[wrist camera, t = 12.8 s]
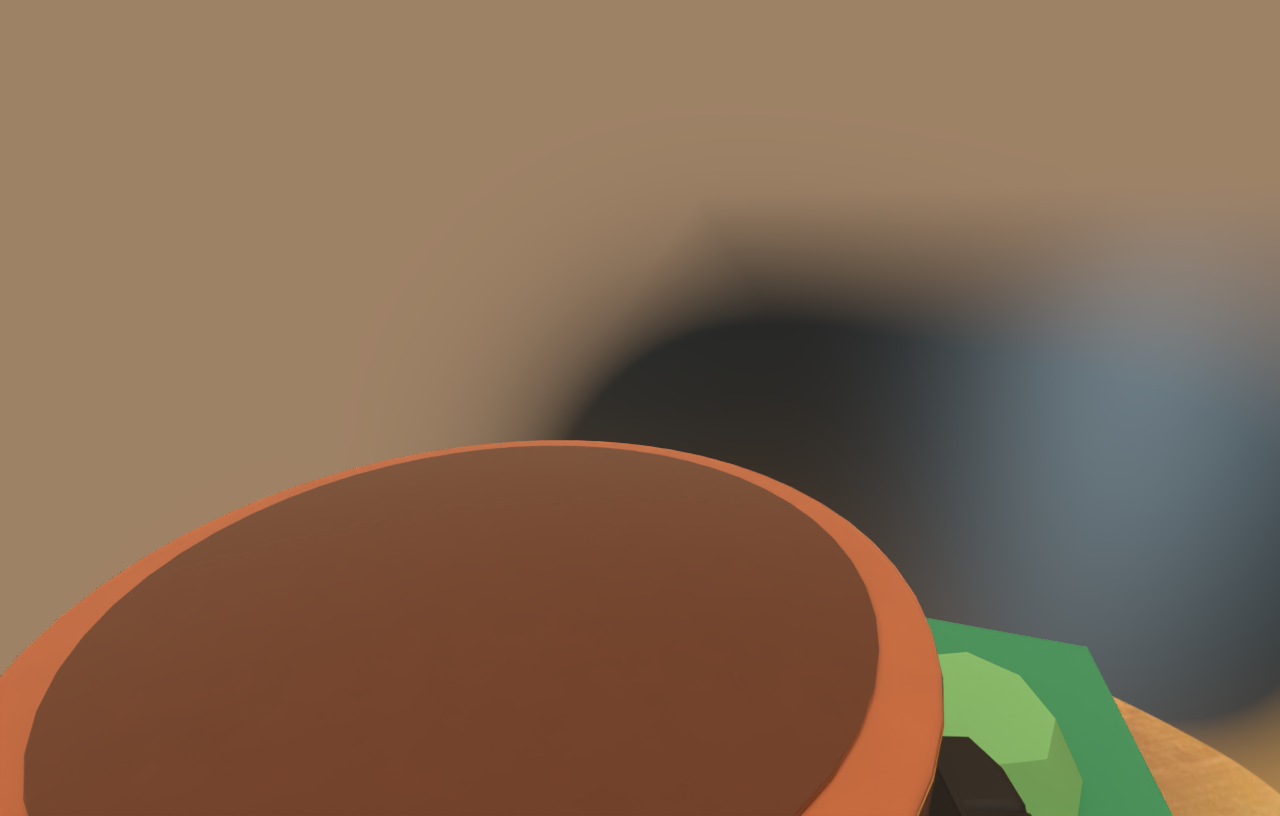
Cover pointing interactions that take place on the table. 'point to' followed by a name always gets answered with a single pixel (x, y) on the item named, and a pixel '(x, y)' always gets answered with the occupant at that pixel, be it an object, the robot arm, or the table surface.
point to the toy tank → (1044, 722)
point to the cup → (490, 653)
